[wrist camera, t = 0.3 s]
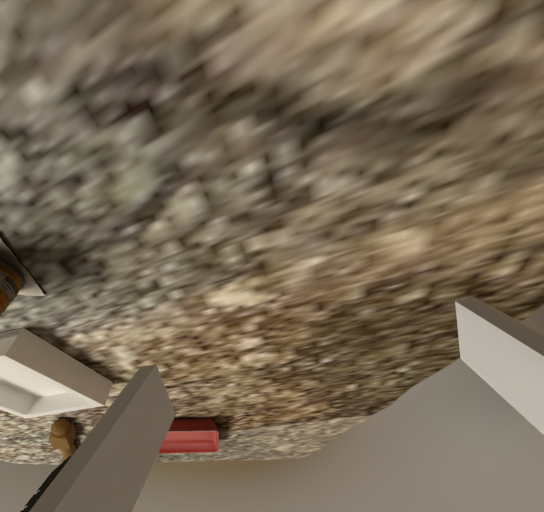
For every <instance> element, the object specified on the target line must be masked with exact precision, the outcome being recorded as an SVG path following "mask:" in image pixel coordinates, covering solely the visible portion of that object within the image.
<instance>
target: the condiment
mask: <svg viewBox="0 0 544 512" xmlns="http://www.w3.org/2000/svg"><path fill="white" fill-rule="evenodd" d="M3 257H4V258H3ZM17 295H29V296H45V295H44V293H43V292H42V290H41V289H40V288H39V286H38V285H37V283H36V282H35V281H34V279H33V278H32V276H31V275H30V274H29V273H28V271H27V270H26V269H25V268H24V267H23V266H22V265H21V264H20V263H19V262H18V260H17V258H16V257H15V256H14V254H13V253H12V251H11V250H10V249H9V248H8V247H7V246H6V245H5V244H4V243H3V241H2V240H1V238H0V316H1V314H2V313H3V312H4V311H5V310H6V308H7V307H8V305H9V304H10V303H11V302H12V301H13V300H14V298H15V297H16V296H17Z"/></svg>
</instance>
